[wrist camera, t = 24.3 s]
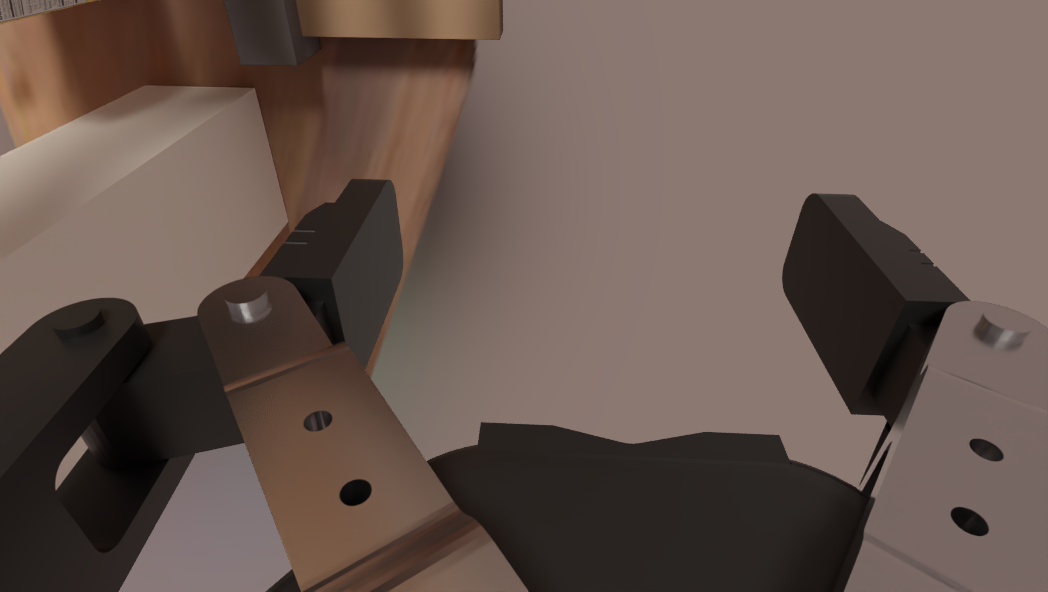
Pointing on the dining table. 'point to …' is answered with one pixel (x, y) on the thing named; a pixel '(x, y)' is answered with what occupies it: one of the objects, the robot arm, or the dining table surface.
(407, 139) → the dining table surface
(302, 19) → the hammer
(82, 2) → the candy box
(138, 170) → the pedestal
